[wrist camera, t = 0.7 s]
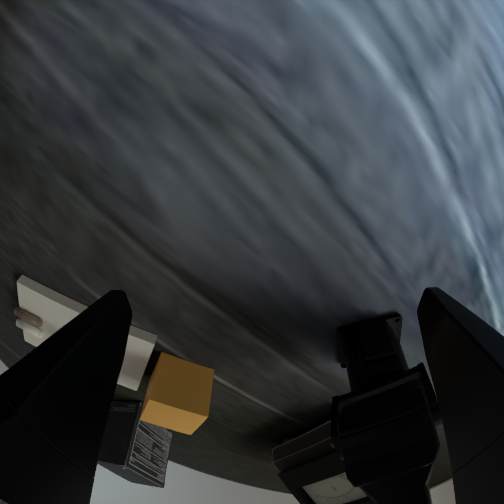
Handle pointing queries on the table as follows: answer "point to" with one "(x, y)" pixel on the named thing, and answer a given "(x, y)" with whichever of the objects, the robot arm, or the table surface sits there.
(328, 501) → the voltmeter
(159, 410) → the mustard yellow cube
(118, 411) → the small box
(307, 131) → the table surface
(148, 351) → the plate
